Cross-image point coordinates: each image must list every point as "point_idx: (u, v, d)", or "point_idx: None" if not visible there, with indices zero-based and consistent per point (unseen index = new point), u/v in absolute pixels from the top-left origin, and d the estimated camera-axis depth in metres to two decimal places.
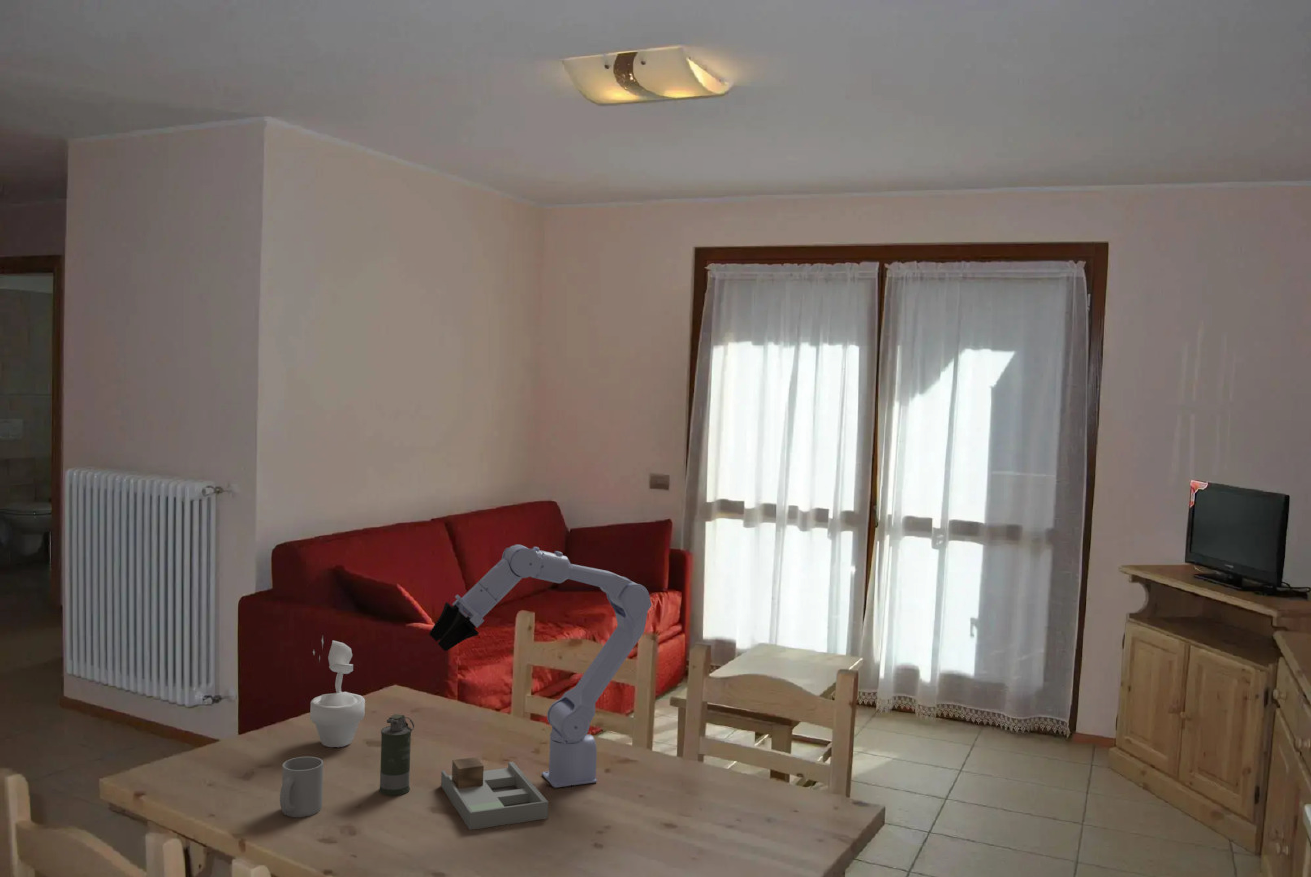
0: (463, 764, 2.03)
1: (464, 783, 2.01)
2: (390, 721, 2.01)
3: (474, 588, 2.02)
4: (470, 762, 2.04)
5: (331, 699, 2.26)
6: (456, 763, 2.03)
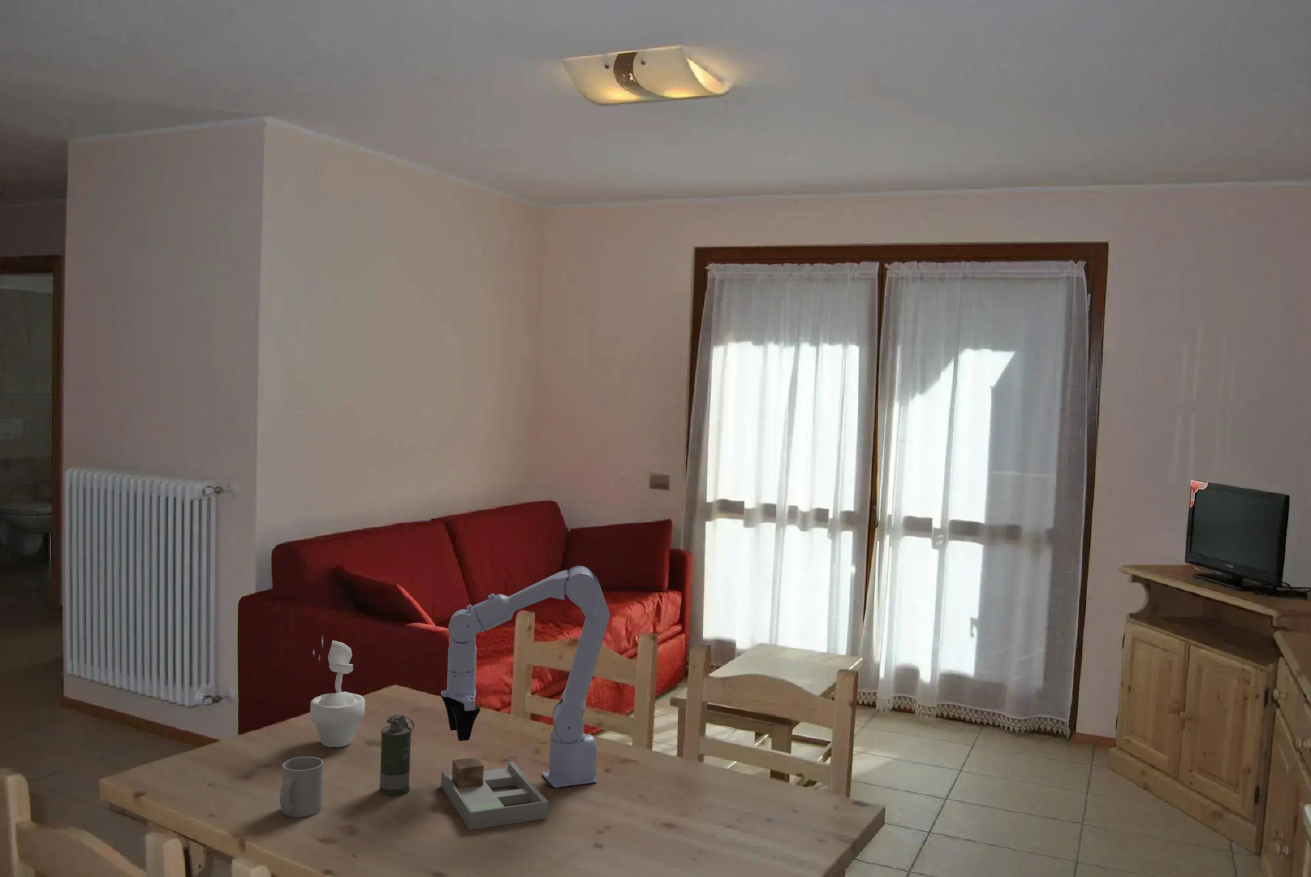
0: (463, 764, 2.03)
1: (464, 783, 2.01)
2: (390, 721, 2.01)
3: (448, 677, 2.07)
4: (470, 762, 2.04)
5: (331, 699, 2.26)
6: (456, 763, 2.03)
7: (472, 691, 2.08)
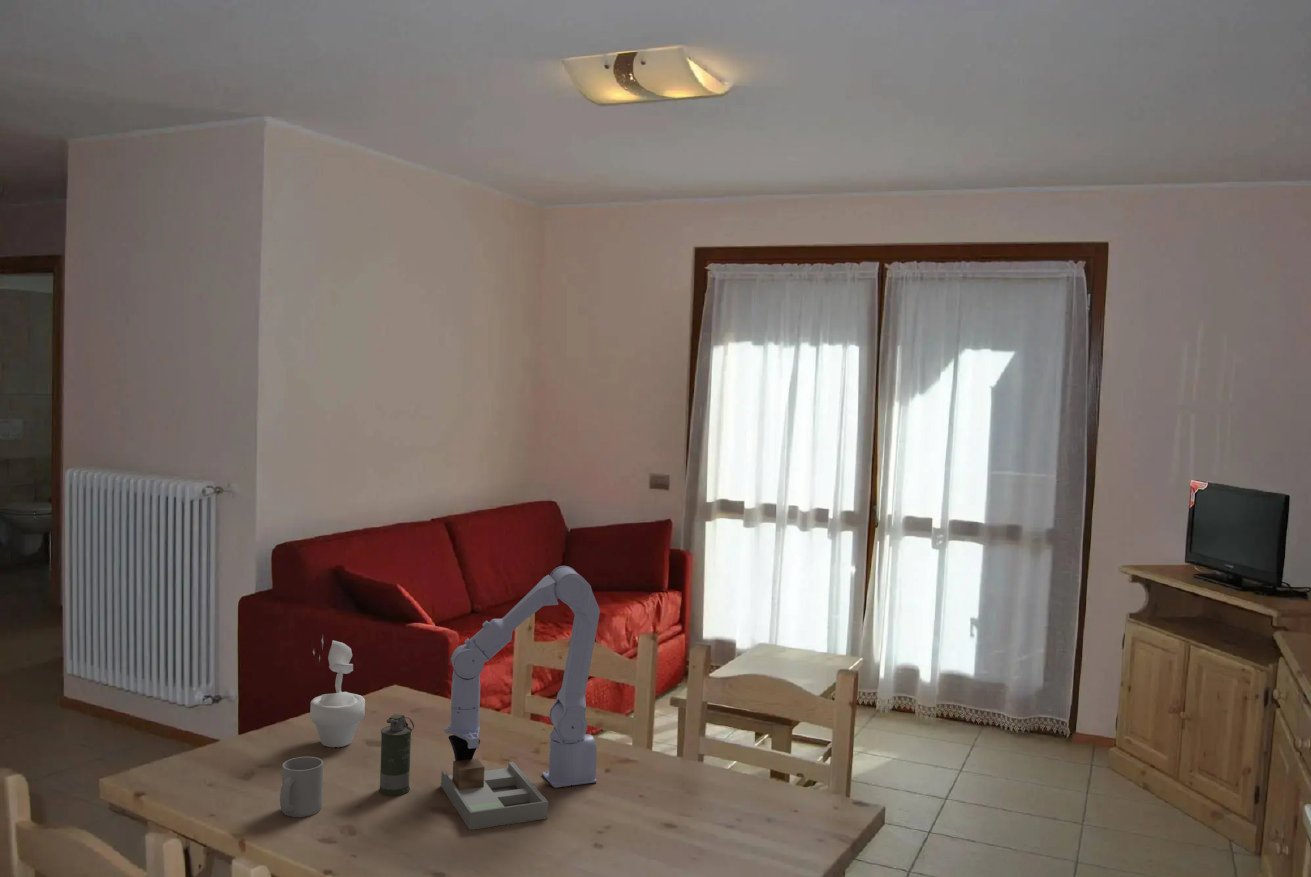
0: (464, 765, 2.02)
1: (465, 784, 2.00)
2: (390, 721, 2.01)
3: (452, 713, 2.04)
4: (470, 764, 2.03)
5: (331, 699, 2.26)
6: (457, 764, 2.02)
7: (476, 728, 2.05)
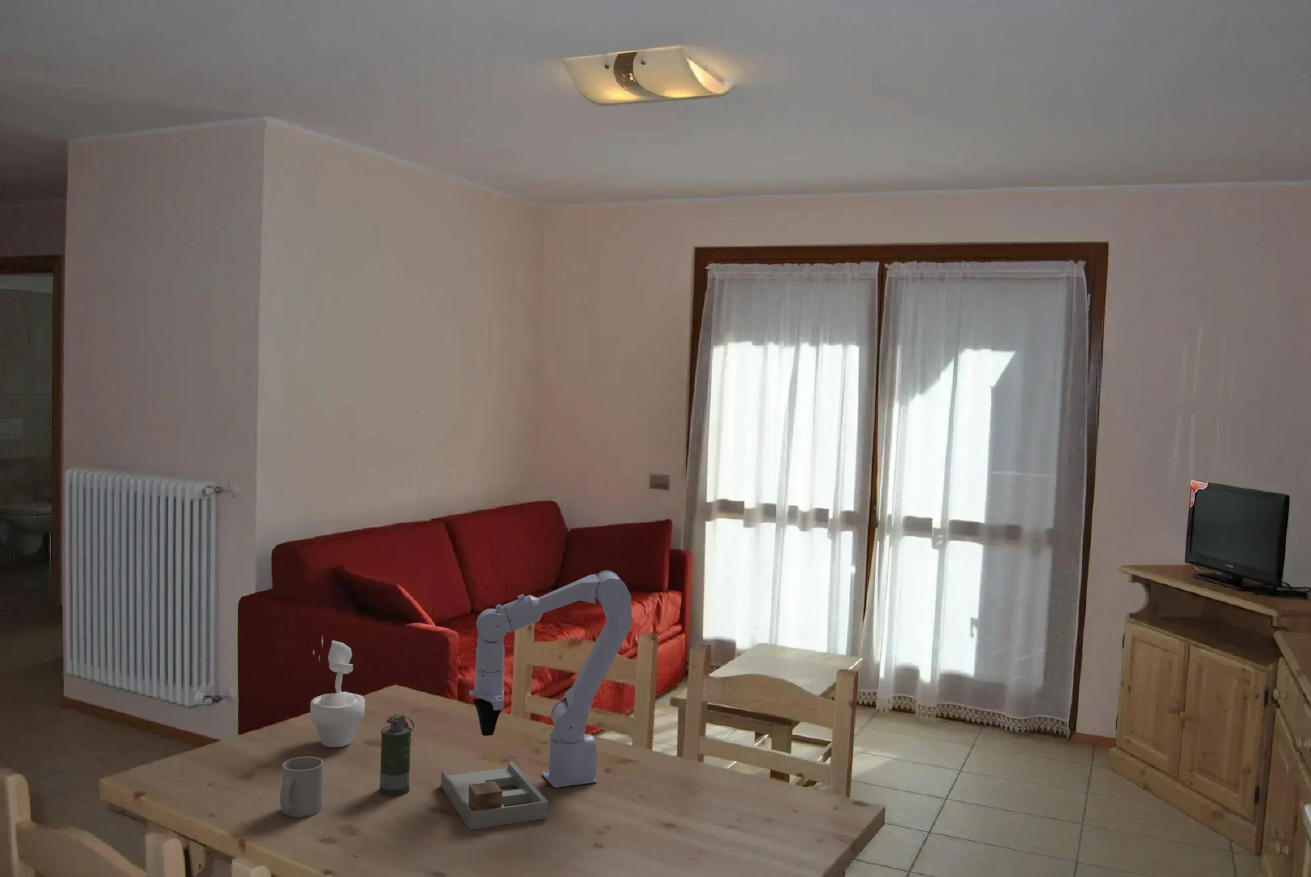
0: (481, 789, 1.90)
1: None
2: (390, 721, 2.01)
3: (477, 677, 2.07)
4: (487, 787, 1.91)
5: (331, 699, 2.26)
6: (473, 788, 1.91)
7: (500, 691, 2.07)
